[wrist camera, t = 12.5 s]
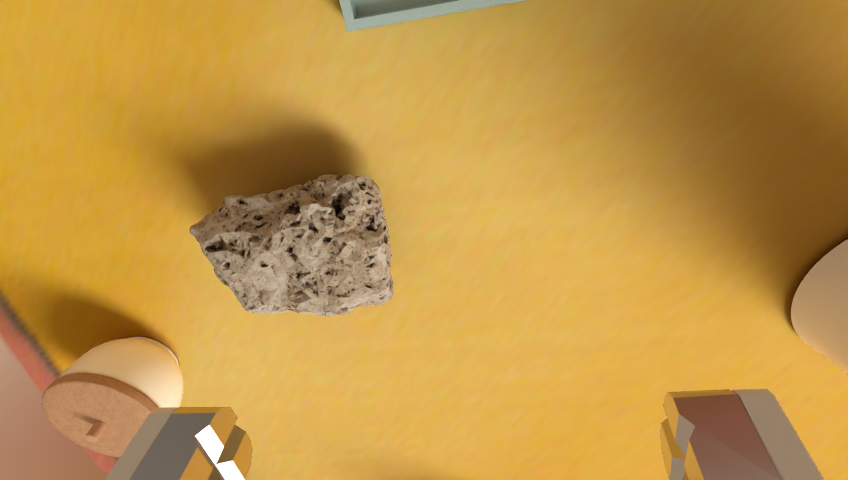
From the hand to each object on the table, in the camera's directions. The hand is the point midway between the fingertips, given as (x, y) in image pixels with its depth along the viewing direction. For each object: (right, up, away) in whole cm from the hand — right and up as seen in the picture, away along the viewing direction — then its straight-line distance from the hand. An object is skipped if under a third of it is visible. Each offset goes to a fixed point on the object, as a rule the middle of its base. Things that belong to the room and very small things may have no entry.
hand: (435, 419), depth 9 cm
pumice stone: (-9, +5, +31) cm, 32 cm away
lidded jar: (-28, -9, +42) cm, 51 cm away
